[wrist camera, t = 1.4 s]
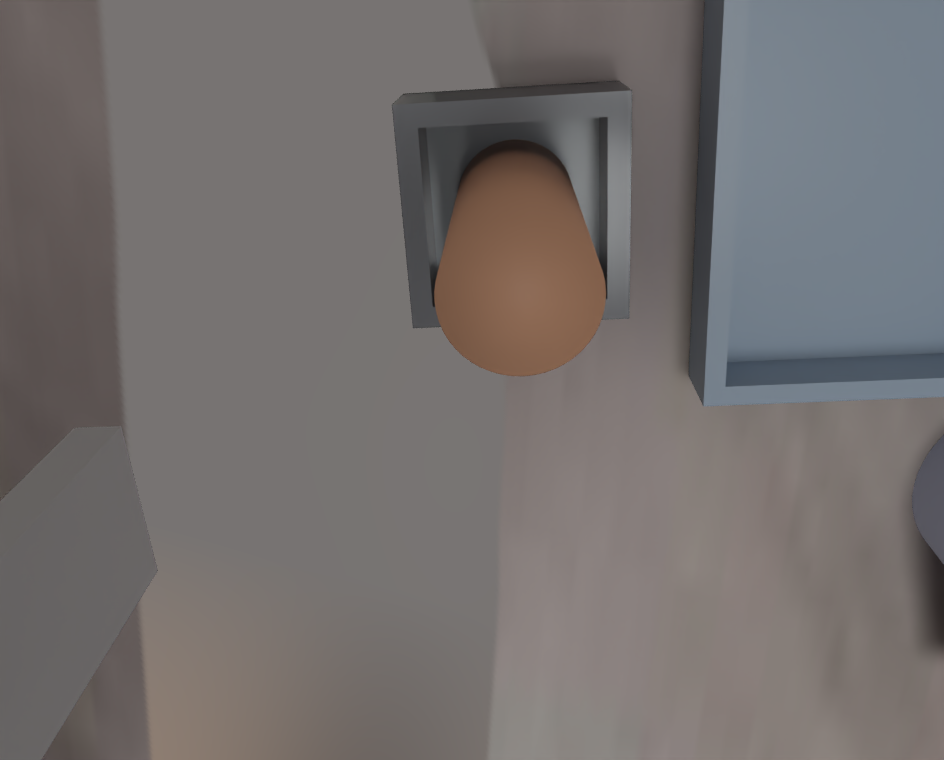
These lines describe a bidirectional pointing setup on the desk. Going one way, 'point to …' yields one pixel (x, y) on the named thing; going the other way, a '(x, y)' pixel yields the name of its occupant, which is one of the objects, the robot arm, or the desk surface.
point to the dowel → (518, 264)
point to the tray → (819, 202)
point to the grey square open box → (520, 118)
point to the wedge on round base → (931, 499)
